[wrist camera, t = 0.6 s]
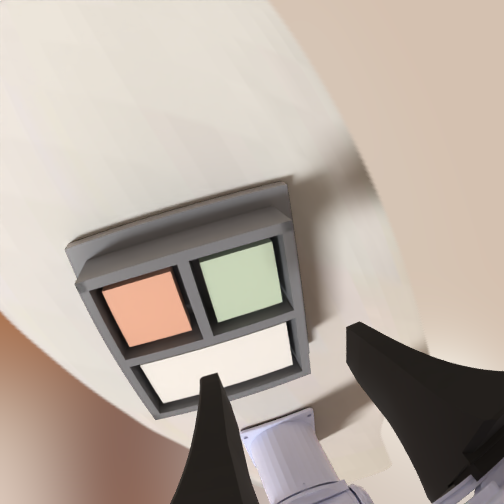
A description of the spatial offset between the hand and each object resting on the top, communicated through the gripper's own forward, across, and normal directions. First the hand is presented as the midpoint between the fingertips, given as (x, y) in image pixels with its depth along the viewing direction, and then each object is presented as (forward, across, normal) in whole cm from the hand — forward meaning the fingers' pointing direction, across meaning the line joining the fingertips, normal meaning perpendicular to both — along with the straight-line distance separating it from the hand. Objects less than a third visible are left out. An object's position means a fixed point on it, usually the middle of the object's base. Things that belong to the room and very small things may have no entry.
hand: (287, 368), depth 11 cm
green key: (+8, 0, 0) cm, 8 cm away
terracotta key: (+8, +6, 0) cm, 10 cm away
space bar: (+8, +3, +6) cm, 10 cm away
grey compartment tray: (+10, +3, +3) cm, 11 cm away
